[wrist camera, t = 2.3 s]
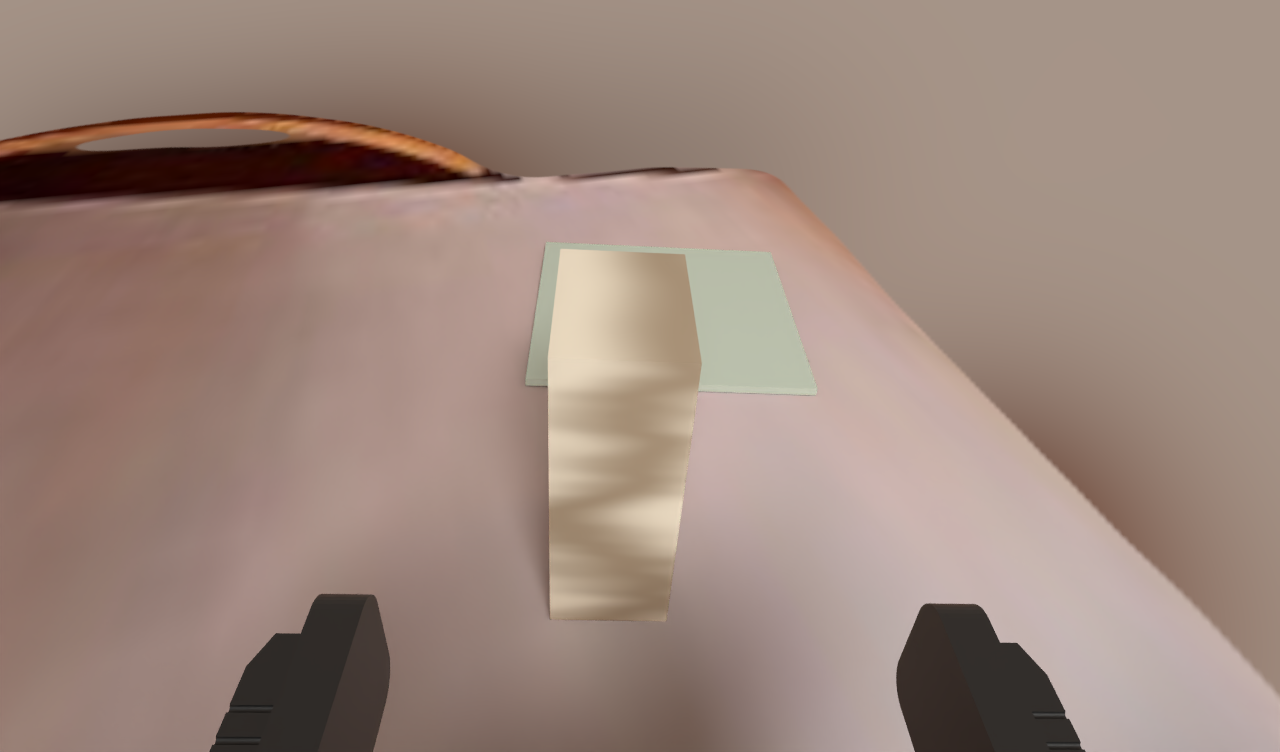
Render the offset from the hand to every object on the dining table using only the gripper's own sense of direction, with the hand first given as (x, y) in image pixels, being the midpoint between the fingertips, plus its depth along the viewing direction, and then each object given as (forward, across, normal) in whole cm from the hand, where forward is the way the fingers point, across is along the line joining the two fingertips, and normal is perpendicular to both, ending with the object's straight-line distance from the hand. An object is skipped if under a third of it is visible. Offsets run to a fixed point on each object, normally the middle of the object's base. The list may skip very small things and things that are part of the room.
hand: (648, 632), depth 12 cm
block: (+13, 0, +13) cm, 18 cm away
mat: (+30, -3, +12) cm, 32 cm away
